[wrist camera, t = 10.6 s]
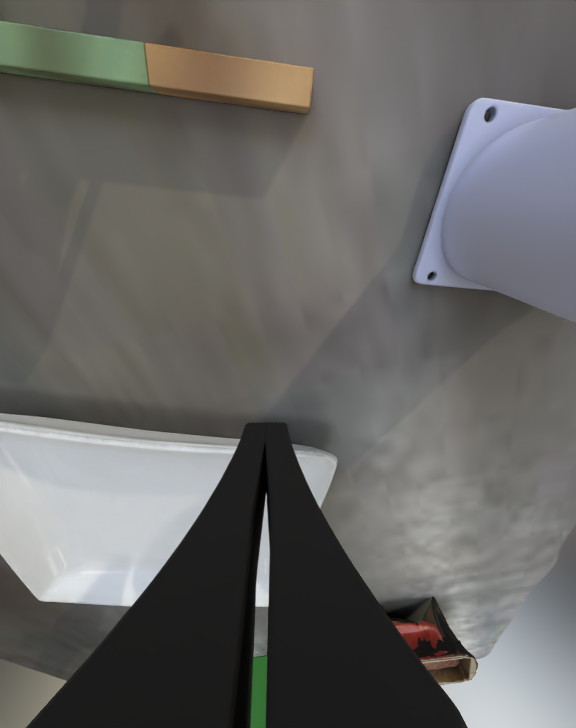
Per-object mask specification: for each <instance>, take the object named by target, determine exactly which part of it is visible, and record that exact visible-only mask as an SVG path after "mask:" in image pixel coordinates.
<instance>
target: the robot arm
mask: <svg viewBox="0 0 576 728" xmlns="http://www.w3.org/2000/svg"><path fill="white" fill-rule="evenodd" d="M487 109H488V110H490V113H491V114H490V118H489V120H488V122H486V121H485V119H484V115H485V112H486V110H487ZM431 272H433V276H432V277H431V278H430V279H427V277H428V274H429V273H431ZM412 278H413V280H414V281H415V282H416V283H418V284H425V285H436V286H447V287H459V288H470V289H481V290H493V291H497V292H499V293H502V294H504V295H507V296H509V297H512V298H514V299H517V300H519V301H522V302H524V303H527V304H529V305H532V306H534V307H537V308H539V309H541V310H544V311H546V312H549V313H551V314H554V315H556V316H559V317H561V318H564V319H566V320H569V321H571V322H574V323H576V108H573V109H570V110H562V109H556V108H549V107H542V106H536V105H529V104H522V103H516V102H509V101H502V100H496V99H489V98H480V99H478V100H476V101H474V102H472V103H471V104H470V105H469V106H468V107H467V109H466V111H465V113H464V116H463V119H462V122H461V125H460V128H459V132H458V135H457V138H456V141H455V144H454V147H453V150H452V153H451V156H450V159H449V163H448V166H447V169H446V172H445V175H444V178H443V181H442V184H441V187H440V190H439V194H438V197H437V200H436V203H435V206H434V209H433V212H432V215H431V218H430V222H429V225H428V228H427V231H426V234H425V237H424V240H423V243H422V246H421V249H420V253H419V256H418V259H417V262H416V265H415V268H414V271H413V275H412ZM266 496H267V513H268V530H269V547H270V561H269V606H268V648H267V689H266V728H467V726H466V724H465V722H464V720H463V718H462V716H461V714H460V712H459V710H458V709H457V707H456V706H455V704H454V703H453V702H452V700H451V699H450V698H449V697H448V695H447V694H446V693H445V691H444V690H443V689H442V688H441V686H440V685H439V684H438V682H437V681H436V680H435V679H434V677H433V676H432V675H431V673H430V672H429V671H428V670H427V668H426V667H425V666H424V664H423V663H422V662H421V660H420V659H419V658H418V656H417V655H416V654H415V652H414V651H413V650H412V648H411V647H410V646H409V644H408V643H407V642H406V640H405V639H404V638H403V636H402V635H401V633H400V632H399V631H398V629H397V628H396V627H395V625H394V624H393V622H392V621H391V620H390V618H389V617H388V615H387V614H386V613H385V611H384V610H383V609H382V607H381V606H380V604H379V603H378V601H377V600H376V598H375V597H374V595H373V594H372V592H371V591H370V589H369V588H368V586H367V585H366V583H365V582H364V580H363V579H362V577H361V576H360V574H359V573H358V572H357V570H356V569H355V567H354V566H353V564H352V562H351V561H350V559H349V558H348V556H347V554H346V553H345V551H344V549H343V548H342V546H341V545H340V543H339V541H338V540H337V538H336V536H335V534H334V533H333V531H332V529H331V528H330V526H329V524H328V522H327V521H326V519H325V517H324V515H323V513H322V511H321V509H320V508H319V506H318V504H317V502H316V500H315V498H314V496H313V494H312V492H311V490H310V487H309V485H308V483H307V481H306V479H305V476H304V474H303V472H302V469H301V467H300V465H299V462H298V460H297V457H296V455H295V452H294V449H293V446H292V443H291V440H290V436H289V432H288V427H287V425H286V424H285V423H248V424H246V425H245V428H244V431H243V434H242V437H241V439H240V441H239V444H238V446H237V448H236V450H235V452H234V455H233V457H232V459H231V461H230V462H229V464H228V466H227V468H226V470H225V472H224V474H223V476H222V478H221V480H220V481H219V483H218V485H217V486H216V488H215V490H214V491H213V493H212V495H211V496H210V498H209V500H208V502H207V503H206V505H205V506H204V508H203V510H202V511H201V513H200V514H199V516H198V517H197V519H196V520H195V522H194V523H193V525H192V526H191V528H190V529H189V531H188V532H187V534H186V535H185V537H184V538H183V540H182V541H181V542H180V544H179V545H178V547H177V548H176V549H175V551H174V552H173V553H172V555H171V556H170V557H169V559H168V560H167V561H166V563H165V564H164V566H163V567H162V568H161V570H160V571H159V572H158V574H157V575H156V576H155V577H154V579H153V580H152V581H151V583H150V584H149V585H148V587H147V588H146V589H145V590H144V592H143V593H142V594H141V595H140V596H139V598H138V599H137V600H136V601H135V603H134V604H133V605H132V606H131V607H130V609H129V610H128V611H127V612H126V613H125V615H124V616H123V617H122V618H121V620H120V621H119V622H118V623H117V624H116V626H115V627H114V628H113V629H112V630H111V632H110V633H109V634H108V635H107V637H106V638H105V639H104V640H103V641H102V643H101V644H100V645H99V646H98V647H97V648H96V650H95V651H94V652H93V653H92V654H91V655H90V656H89V658H88V659H87V660H86V661H85V662H84V663H83V664H82V665H81V667H80V668H79V669H78V670H77V671H76V672H75V673H74V674H73V676H72V677H71V678H70V679H69V680H68V681H67V682H66V684H64V686H63V687H62V688H61V689H60V690H59V691H58V692H57V693H56V695H55V696H54V697H53V698H52V699H51V700H50V701H49V702H48V704H47V705H46V706H45V707H44V708H43V709H42V710H41V711H40V713H39V714H38V715H37V716H36V717H35V718H34V719H33V720H32V721H31V723H30V724H29V725H28V726H27V727H26V728H251V704H252V677H253V652H254V627H255V603H256V581H257V569H258V559H259V551H260V542H261V533H262V525H263V516H264V508H265V499H266Z"/></svg>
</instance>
